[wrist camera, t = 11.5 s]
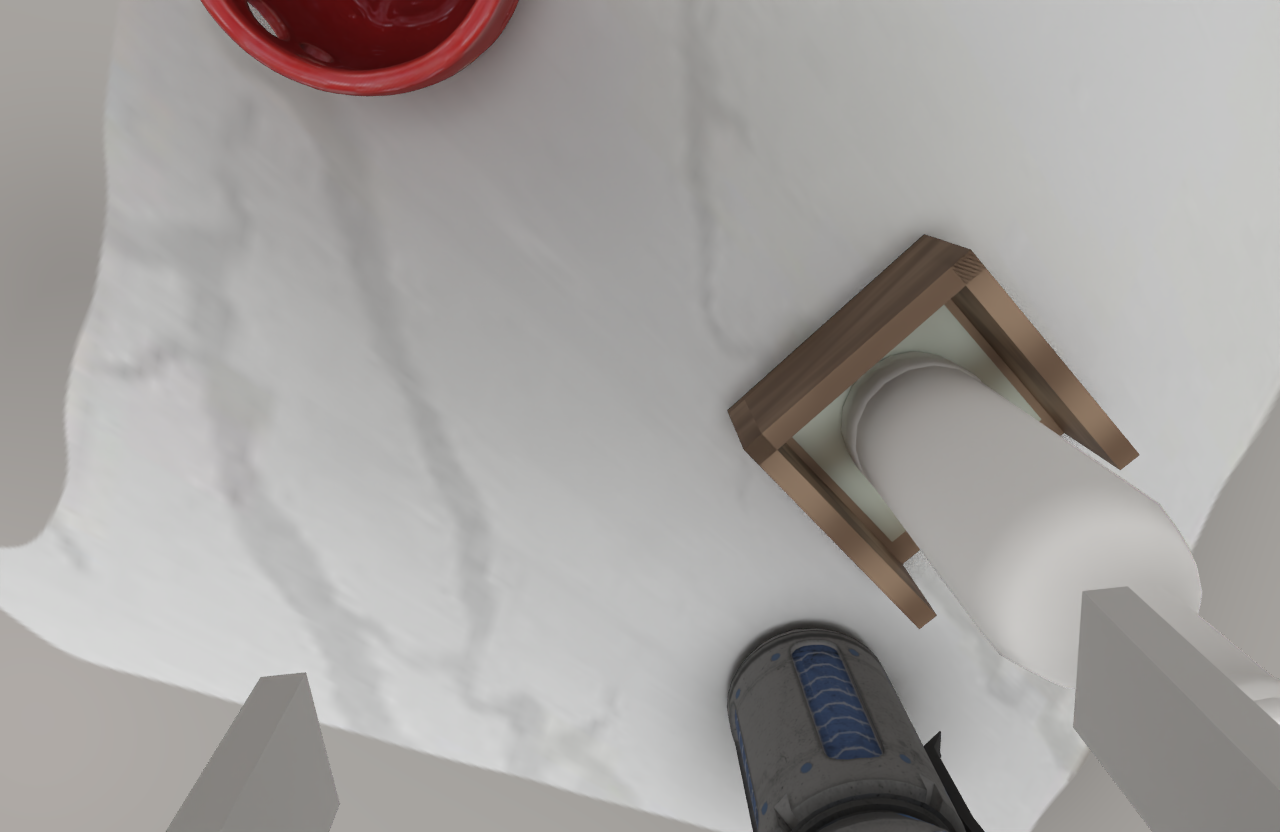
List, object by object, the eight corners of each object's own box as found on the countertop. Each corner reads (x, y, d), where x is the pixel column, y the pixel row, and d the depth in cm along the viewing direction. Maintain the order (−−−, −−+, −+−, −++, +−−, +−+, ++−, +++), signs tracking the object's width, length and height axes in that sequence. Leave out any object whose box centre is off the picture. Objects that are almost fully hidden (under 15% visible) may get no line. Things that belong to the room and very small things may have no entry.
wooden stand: (727, 410, 51) (743, 449, 45) (924, 234, 49) (970, 249, 43) (884, 572, 55) (919, 629, 49) (1075, 416, 52) (1139, 454, 46)
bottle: (1005, 391, 51) (1512, 728, 22) (925, 504, 53) (1297, 946, 24) (889, 323, 49) (1270, 589, 21) (811, 442, 51) (1062, 833, 23)
